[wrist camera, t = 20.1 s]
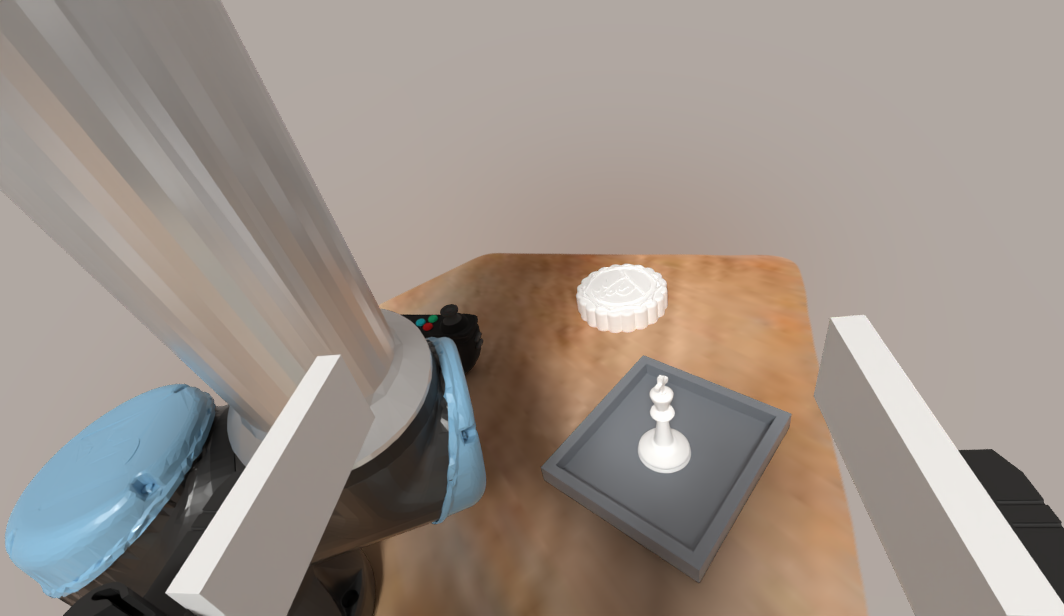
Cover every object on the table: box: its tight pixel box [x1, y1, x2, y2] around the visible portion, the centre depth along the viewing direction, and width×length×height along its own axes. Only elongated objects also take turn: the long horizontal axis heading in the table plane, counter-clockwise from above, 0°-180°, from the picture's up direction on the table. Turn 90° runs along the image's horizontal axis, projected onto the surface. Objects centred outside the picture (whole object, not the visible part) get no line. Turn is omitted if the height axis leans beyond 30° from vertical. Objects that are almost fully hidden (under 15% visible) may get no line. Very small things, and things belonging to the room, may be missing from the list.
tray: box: [541, 355, 792, 583], centre depth 48 cm, size 16×18×2 cm
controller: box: [402, 304, 483, 374], centre depth 61 cm, size 4×12×10 cm, turn 74°
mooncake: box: [576, 264, 668, 333], centre depth 68 cm, size 12×12×4 cm
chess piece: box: [638, 375, 691, 473], centre depth 45 cm, size 5×5×10 cm
